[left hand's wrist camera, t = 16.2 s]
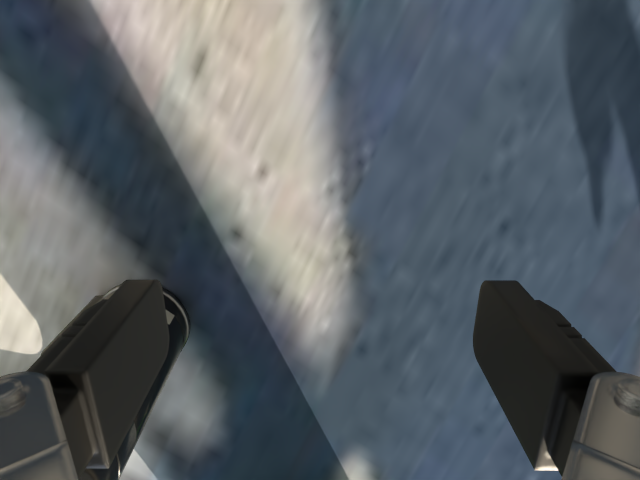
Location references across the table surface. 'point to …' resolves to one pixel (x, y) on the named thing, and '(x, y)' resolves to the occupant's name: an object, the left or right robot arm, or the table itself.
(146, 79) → the table surface
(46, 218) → the table surface
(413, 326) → the table surface
